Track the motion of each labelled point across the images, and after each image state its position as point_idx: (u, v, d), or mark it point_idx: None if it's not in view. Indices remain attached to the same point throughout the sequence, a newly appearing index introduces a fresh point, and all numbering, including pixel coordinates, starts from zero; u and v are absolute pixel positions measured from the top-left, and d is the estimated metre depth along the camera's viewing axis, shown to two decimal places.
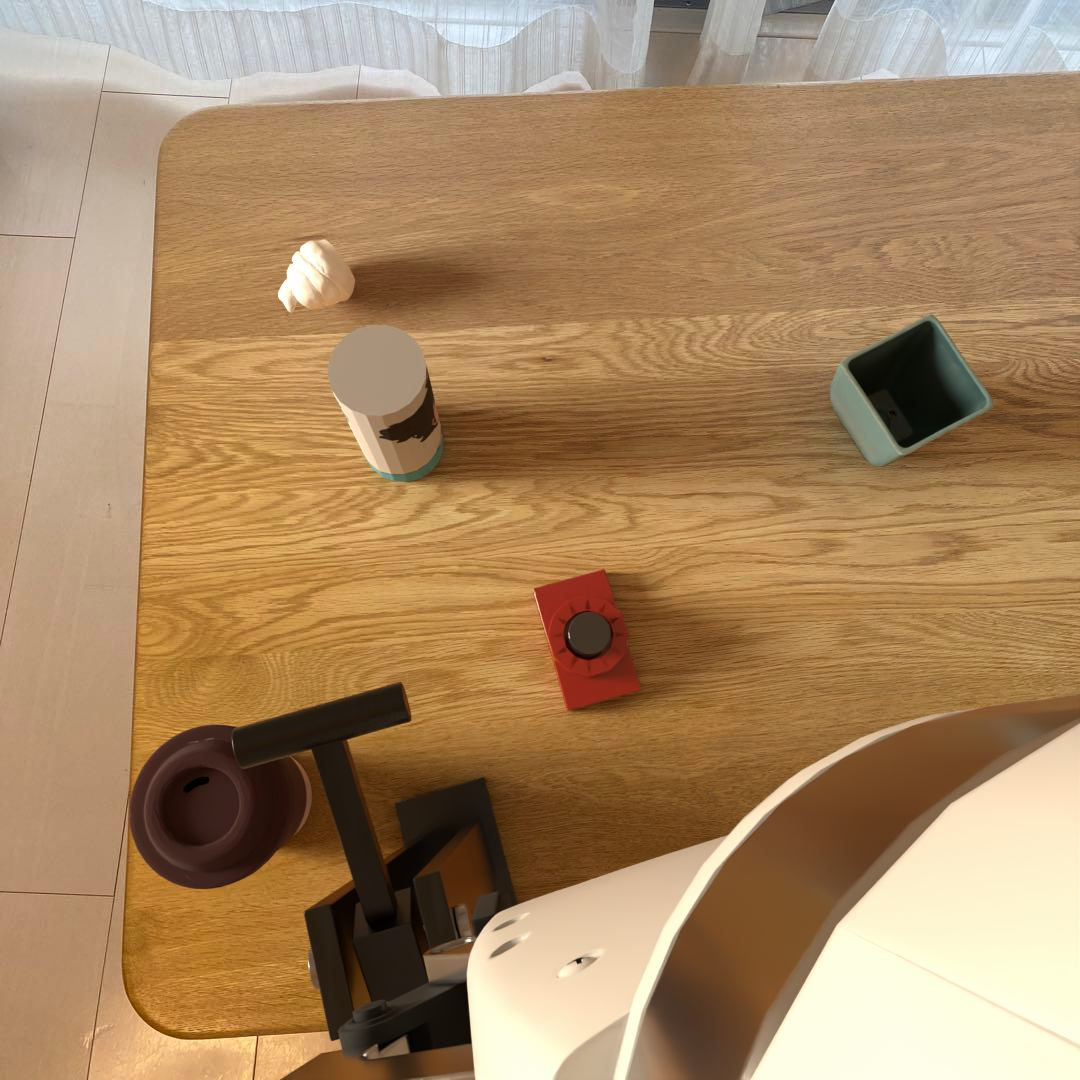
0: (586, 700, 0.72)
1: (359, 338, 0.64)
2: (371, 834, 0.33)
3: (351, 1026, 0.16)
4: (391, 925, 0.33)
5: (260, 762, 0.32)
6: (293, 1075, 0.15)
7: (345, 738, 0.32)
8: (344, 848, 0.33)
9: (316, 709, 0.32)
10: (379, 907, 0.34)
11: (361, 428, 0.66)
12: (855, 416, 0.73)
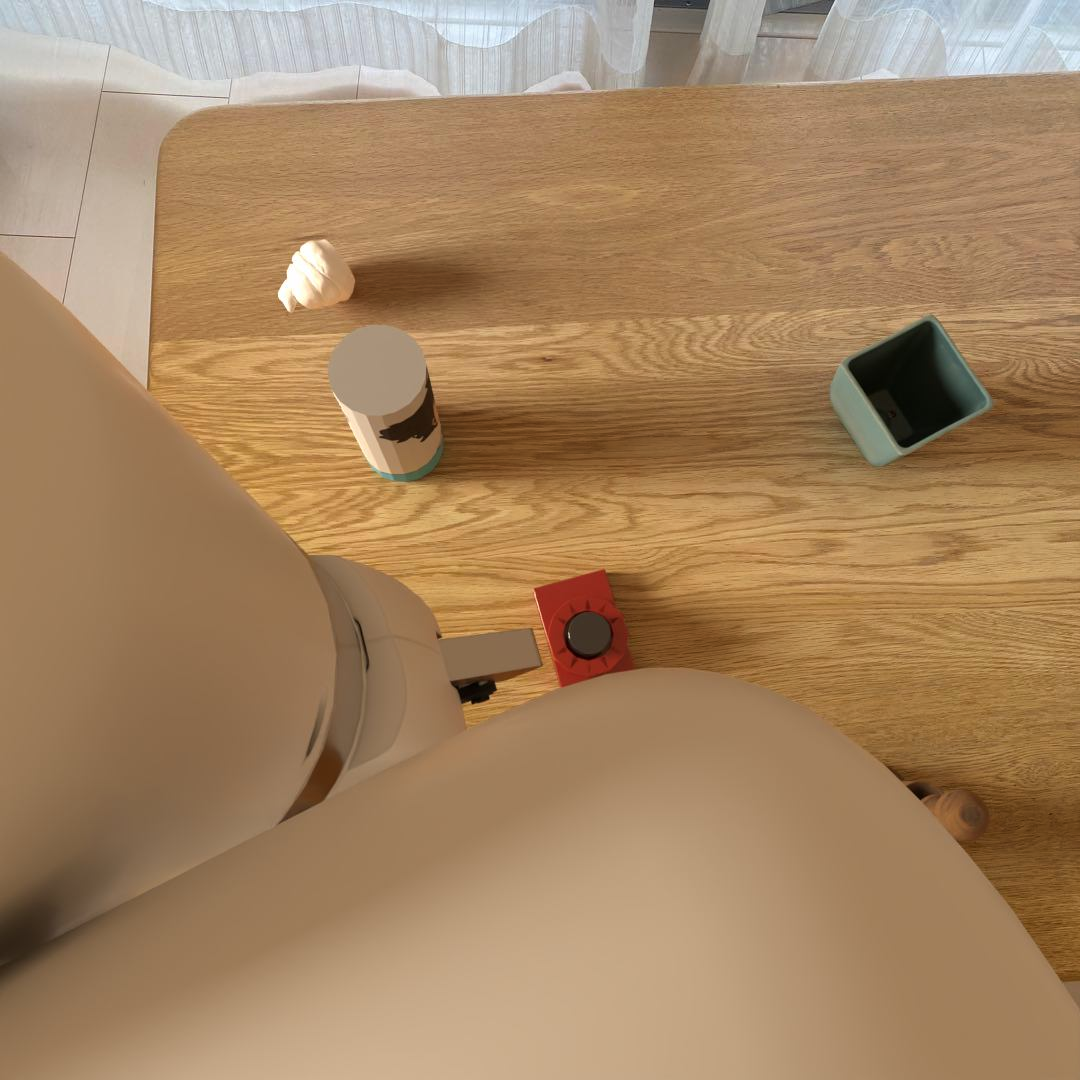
0: None
1: (359, 338, 0.64)
2: None
3: None
4: None
5: None
6: None
7: None
8: None
9: None
10: None
11: (361, 428, 0.66)
12: (855, 416, 0.73)
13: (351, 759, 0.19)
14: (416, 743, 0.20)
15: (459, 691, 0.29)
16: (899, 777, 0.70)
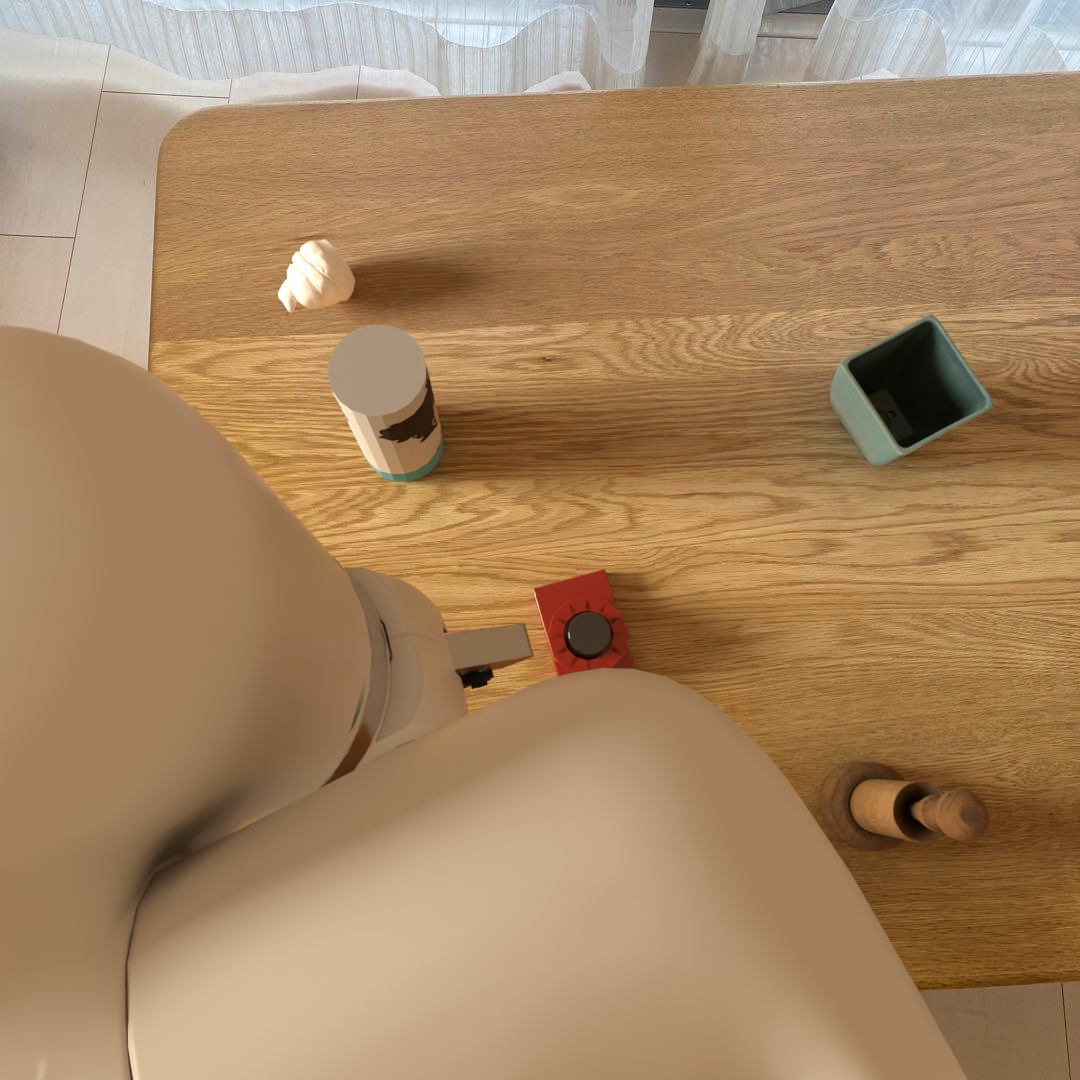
0: None
1: (359, 338, 0.64)
2: None
3: None
4: None
5: None
6: None
7: None
8: None
9: None
10: None
11: (361, 428, 0.66)
12: (855, 416, 0.73)
13: (378, 733, 0.23)
14: (429, 720, 0.25)
15: (461, 677, 0.34)
16: (899, 777, 0.70)
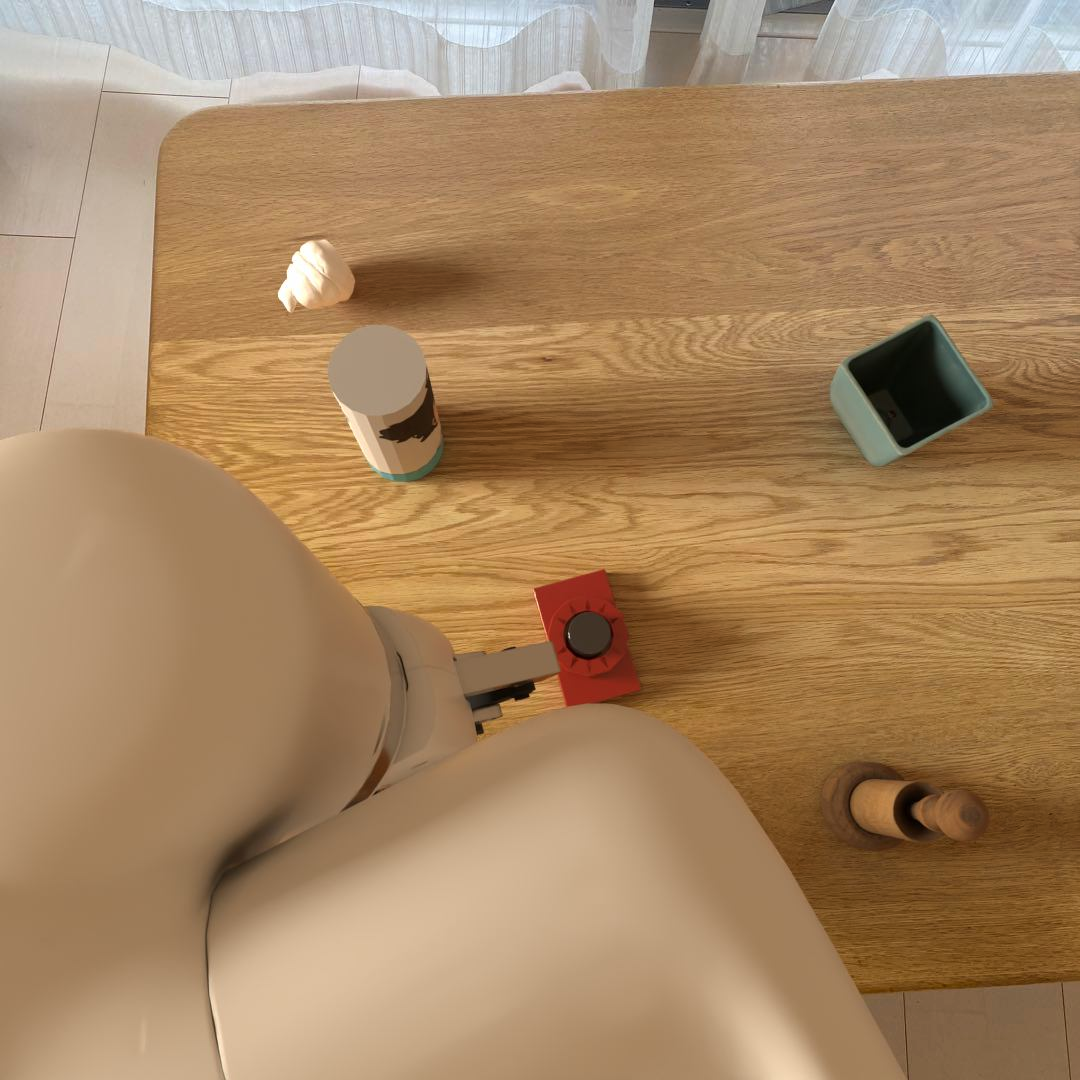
0: (586, 700, 0.72)
1: (359, 338, 0.64)
2: None
3: None
4: None
5: None
6: None
7: None
8: None
9: None
10: None
11: (361, 428, 0.66)
12: (855, 416, 0.73)
13: (396, 756, 0.26)
14: (441, 744, 0.27)
15: (505, 690, 0.36)
16: (899, 777, 0.70)
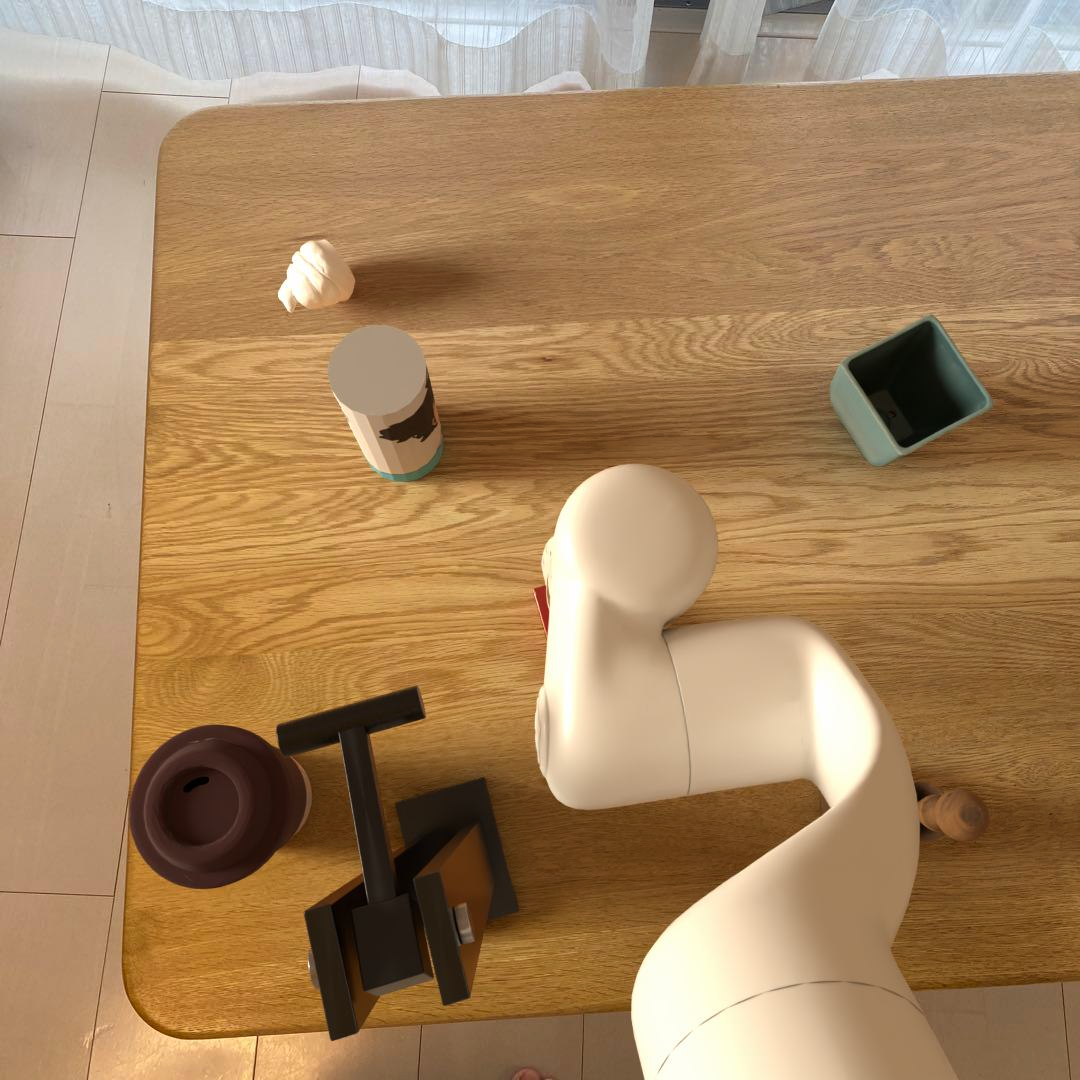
0: None
1: (359, 338, 0.64)
2: (381, 815, 0.37)
3: None
4: (390, 899, 0.34)
5: (295, 744, 0.38)
6: None
7: (367, 724, 0.38)
8: (356, 827, 0.36)
9: None
10: (381, 890, 0.35)
11: (361, 428, 0.66)
12: (855, 416, 0.73)
13: None
14: None
15: None
16: None
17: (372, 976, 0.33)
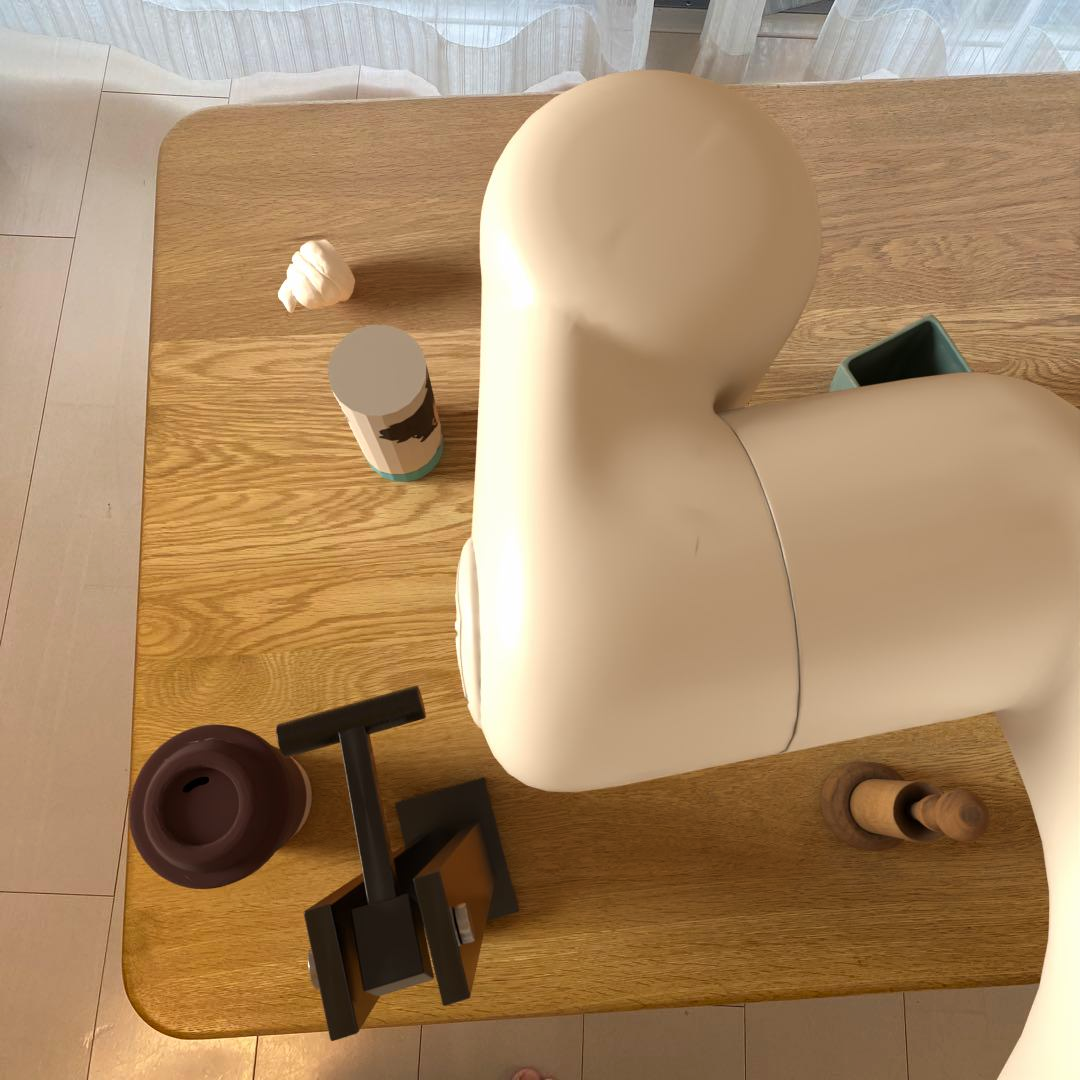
0: None
1: (359, 338, 0.64)
2: (381, 815, 0.37)
3: None
4: (390, 899, 0.34)
5: (295, 744, 0.38)
6: None
7: (367, 724, 0.38)
8: (356, 827, 0.36)
9: None
10: (381, 890, 0.35)
11: (361, 428, 0.66)
12: None
13: None
14: None
15: None
16: (899, 777, 0.70)
17: (372, 976, 0.33)
